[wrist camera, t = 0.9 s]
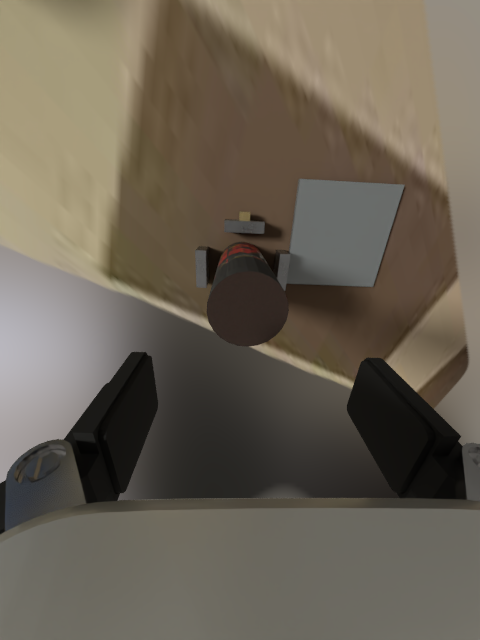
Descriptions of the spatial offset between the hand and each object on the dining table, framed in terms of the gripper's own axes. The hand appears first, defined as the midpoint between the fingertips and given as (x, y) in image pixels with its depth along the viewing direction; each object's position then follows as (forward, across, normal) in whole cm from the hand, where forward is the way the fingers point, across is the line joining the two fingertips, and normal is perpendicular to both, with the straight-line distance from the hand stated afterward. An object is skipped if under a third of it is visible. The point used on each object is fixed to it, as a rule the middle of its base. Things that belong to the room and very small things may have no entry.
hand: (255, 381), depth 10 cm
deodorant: (+22, 0, -1) cm, 22 cm away
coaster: (+22, -12, -5) cm, 25 cm away
